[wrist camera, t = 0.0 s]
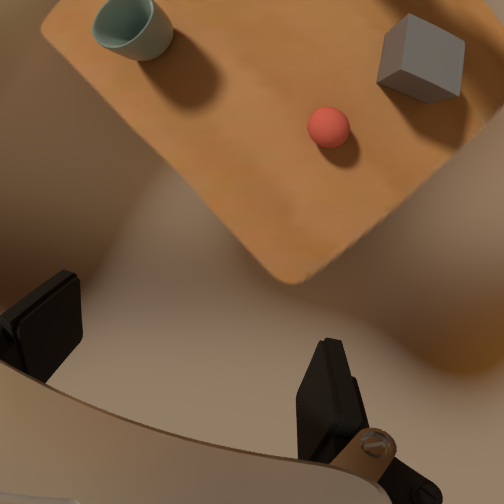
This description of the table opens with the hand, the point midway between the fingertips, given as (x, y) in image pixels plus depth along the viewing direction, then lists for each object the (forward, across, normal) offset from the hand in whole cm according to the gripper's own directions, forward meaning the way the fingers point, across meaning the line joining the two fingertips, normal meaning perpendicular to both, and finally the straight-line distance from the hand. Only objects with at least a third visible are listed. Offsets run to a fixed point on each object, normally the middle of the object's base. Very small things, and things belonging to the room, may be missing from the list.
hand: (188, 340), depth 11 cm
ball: (+29, -7, -11) cm, 32 cm away
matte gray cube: (+31, -16, -23) cm, 42 cm away
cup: (+31, +18, -19) cm, 41 cm away
